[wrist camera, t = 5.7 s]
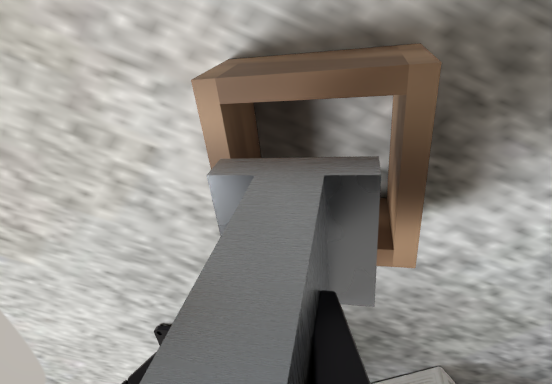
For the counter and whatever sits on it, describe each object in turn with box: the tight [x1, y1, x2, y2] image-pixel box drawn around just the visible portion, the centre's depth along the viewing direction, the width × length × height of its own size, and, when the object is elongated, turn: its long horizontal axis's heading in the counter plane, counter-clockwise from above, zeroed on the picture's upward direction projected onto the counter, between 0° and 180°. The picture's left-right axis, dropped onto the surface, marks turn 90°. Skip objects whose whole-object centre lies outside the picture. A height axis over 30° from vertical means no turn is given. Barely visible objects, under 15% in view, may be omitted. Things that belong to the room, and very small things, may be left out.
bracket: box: [139, 156, 381, 384], centre depth 8 cm, size 5×5×8 cm
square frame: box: [191, 43, 441, 268], centre depth 16 cm, size 9×9×4 cm
